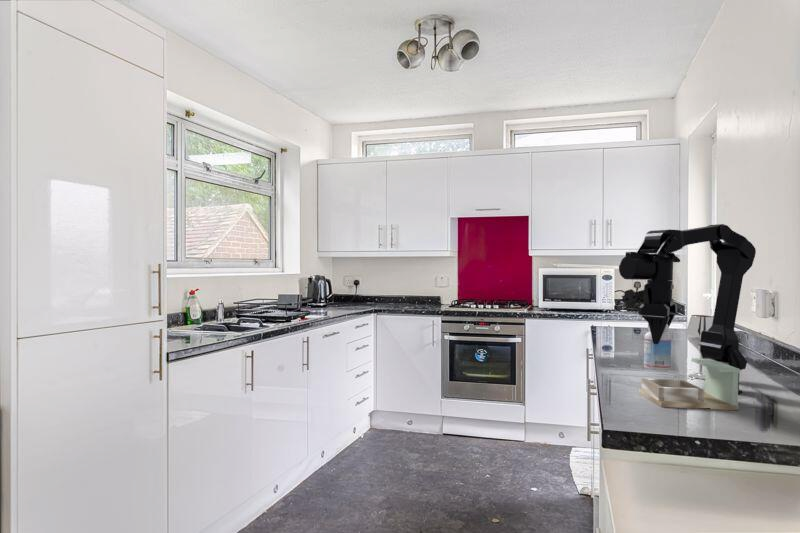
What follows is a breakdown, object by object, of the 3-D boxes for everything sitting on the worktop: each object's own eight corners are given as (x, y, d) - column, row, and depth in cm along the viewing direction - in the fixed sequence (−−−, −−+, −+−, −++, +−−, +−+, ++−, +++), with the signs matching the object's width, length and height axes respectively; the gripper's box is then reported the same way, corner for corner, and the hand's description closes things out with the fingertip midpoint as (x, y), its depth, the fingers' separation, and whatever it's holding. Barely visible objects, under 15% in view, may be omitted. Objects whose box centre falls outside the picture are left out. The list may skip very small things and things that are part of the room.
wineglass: (686, 378, 154) (688, 316, 153) (683, 373, 161) (685, 313, 161) (719, 381, 151) (721, 318, 150) (714, 376, 158) (716, 315, 158)
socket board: (708, 395, 133) (709, 379, 133) (738, 410, 120) (739, 392, 120) (639, 392, 134) (639, 377, 134) (661, 406, 121) (661, 389, 121)
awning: (708, 395, 133) (709, 358, 133) (738, 410, 120) (739, 369, 120) (690, 395, 133) (691, 358, 133) (718, 409, 120) (719, 368, 120)
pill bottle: (673, 369, 133) (675, 324, 133) (666, 372, 129) (667, 326, 129) (648, 365, 137) (649, 322, 137) (640, 368, 133) (641, 323, 133)
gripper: (632, 278, 145) (630, 335, 145) (617, 279, 129) (615, 343, 130) (678, 280, 139) (676, 339, 139) (668, 281, 123) (666, 348, 123)
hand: (657, 342), depth 133 cm, fingers closed on pill bottle, 6 cm apart
